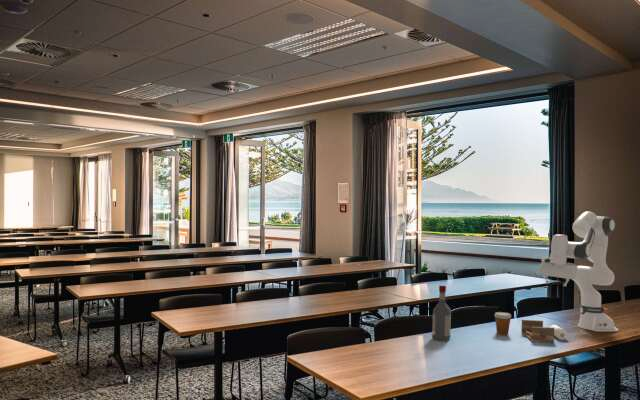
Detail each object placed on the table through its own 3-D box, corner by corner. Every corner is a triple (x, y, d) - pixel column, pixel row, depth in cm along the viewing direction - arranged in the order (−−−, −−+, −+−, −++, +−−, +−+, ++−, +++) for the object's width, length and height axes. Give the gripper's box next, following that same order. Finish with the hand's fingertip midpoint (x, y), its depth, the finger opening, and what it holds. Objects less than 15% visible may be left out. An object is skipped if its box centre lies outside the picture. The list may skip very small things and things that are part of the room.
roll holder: (520, 332, 297) (521, 319, 297) (541, 333, 296) (541, 320, 296) (532, 342, 277) (533, 327, 277) (554, 343, 276) (555, 328, 276)
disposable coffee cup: (512, 336, 288) (512, 315, 288) (495, 335, 290) (495, 314, 290) (509, 332, 297) (509, 312, 297) (492, 331, 299) (493, 311, 299)
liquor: (450, 338, 281) (452, 285, 281) (447, 342, 273) (449, 287, 273) (434, 335, 285) (436, 284, 285) (431, 339, 276) (432, 286, 277)
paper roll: (548, 333, 296) (549, 323, 296) (558, 335, 295) (559, 325, 295) (556, 339, 283) (558, 329, 283) (567, 341, 283) (568, 330, 283)
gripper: (577, 264, 289) (575, 287, 287) (539, 259, 296) (536, 282, 295) (578, 263, 283) (576, 287, 281) (539, 258, 291) (537, 282, 289)
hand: (555, 285), depth 288 cm, fingers open, 8 cm apart
